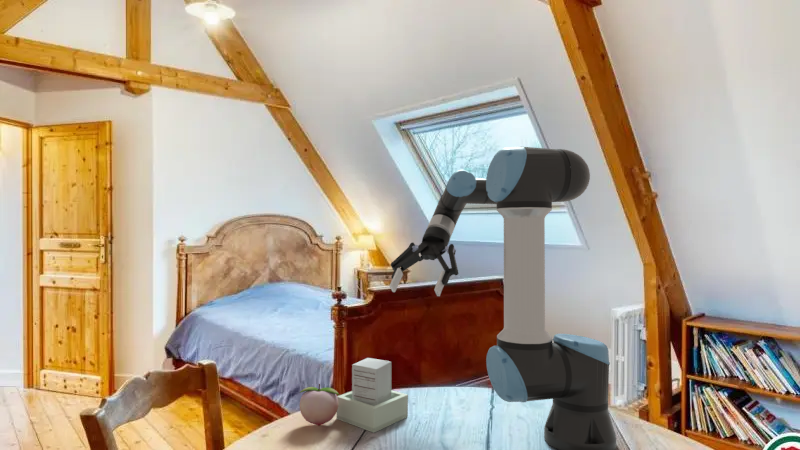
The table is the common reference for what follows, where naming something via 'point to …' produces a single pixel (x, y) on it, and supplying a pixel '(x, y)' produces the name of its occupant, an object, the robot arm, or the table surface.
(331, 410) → the decorative fruit
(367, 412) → the open square container
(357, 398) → the supplement box
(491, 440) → the table surface
